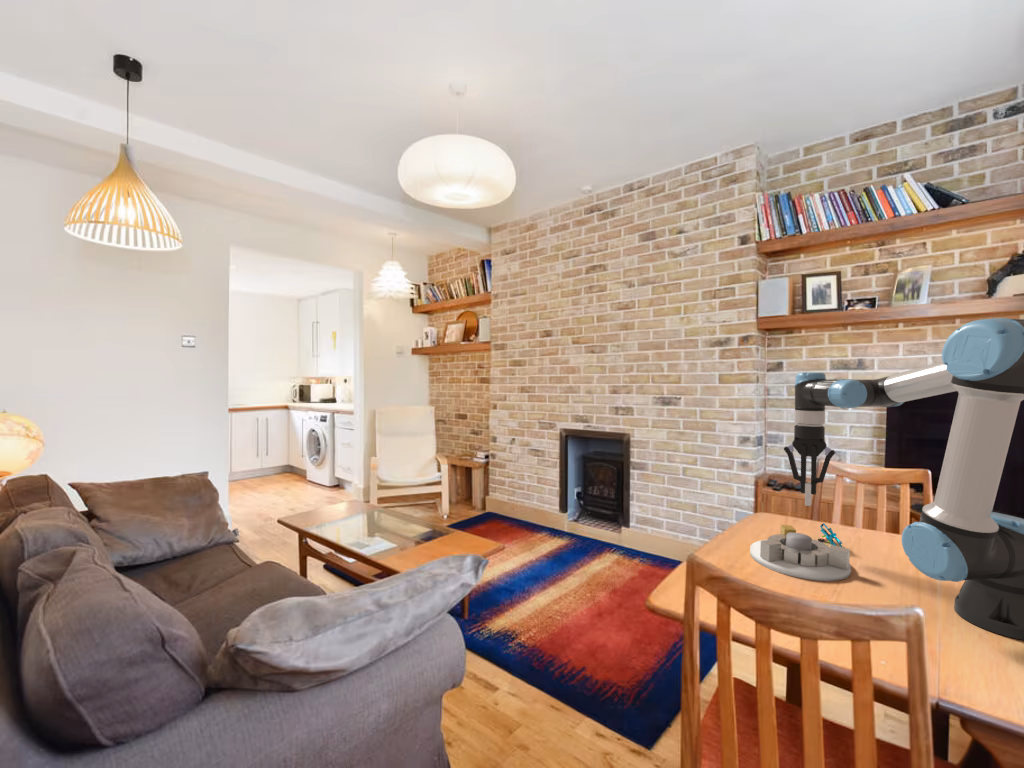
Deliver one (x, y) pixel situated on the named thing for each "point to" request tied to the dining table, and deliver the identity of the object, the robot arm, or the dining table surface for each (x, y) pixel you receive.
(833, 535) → the stick construction toy
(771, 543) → the grey segmented ring
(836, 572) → the white shallow round piece
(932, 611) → the dining table surface
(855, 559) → the dining table surface
